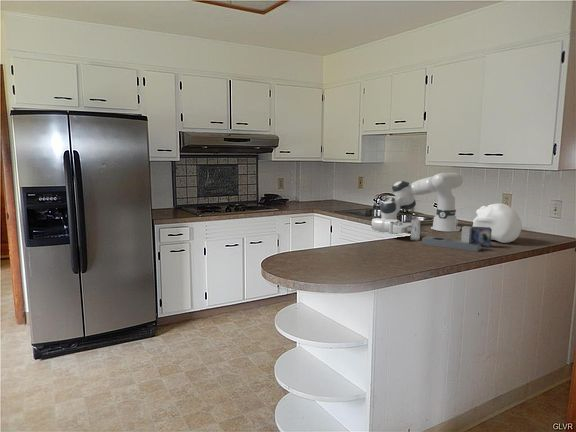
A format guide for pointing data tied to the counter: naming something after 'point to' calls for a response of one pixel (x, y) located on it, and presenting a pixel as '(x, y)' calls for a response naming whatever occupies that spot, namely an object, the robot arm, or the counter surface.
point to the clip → (416, 234)
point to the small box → (481, 235)
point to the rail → (455, 241)
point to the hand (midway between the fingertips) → (416, 229)
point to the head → (499, 222)
